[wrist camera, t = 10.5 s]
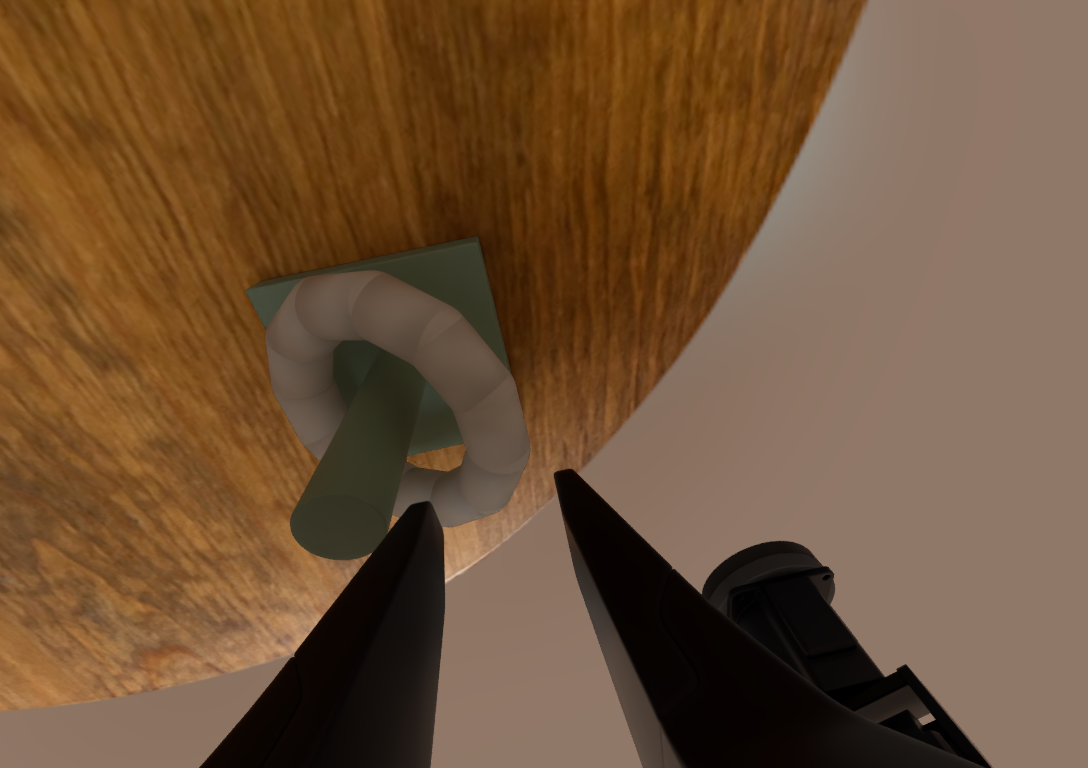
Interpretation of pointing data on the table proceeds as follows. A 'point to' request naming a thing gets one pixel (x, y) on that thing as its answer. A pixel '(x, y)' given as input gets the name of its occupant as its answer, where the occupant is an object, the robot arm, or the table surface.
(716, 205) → the table surface
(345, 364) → the post stand
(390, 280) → the segmented ring
